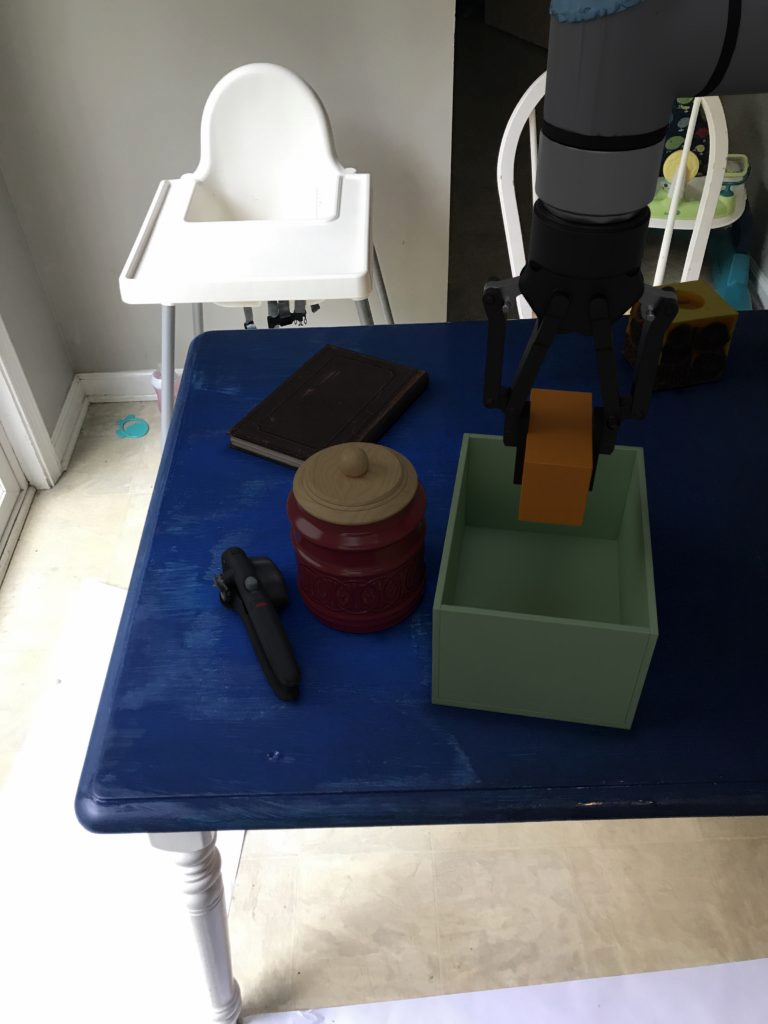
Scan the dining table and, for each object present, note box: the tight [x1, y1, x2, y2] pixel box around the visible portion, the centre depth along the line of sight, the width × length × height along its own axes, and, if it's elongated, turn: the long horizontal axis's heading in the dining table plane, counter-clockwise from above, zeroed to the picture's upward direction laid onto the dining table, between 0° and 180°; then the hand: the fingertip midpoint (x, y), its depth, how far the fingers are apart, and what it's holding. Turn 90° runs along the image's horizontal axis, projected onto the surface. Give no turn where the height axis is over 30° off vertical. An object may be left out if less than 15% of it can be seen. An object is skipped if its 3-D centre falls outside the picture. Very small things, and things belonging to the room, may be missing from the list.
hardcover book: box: [225, 343, 430, 471], centre depth 106 cm, size 16×23×2 cm
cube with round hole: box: [621, 279, 740, 392], centre depth 109 cm, size 10×10×10 cm
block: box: [518, 387, 593, 526], centre depth 68 cm, size 5×10×6 cm, turn 170°
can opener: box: [212, 546, 302, 703], centre depth 78 cm, size 18×7×6 cm, turn 22°
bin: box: [431, 432, 660, 730], centre depth 77 cm, size 17×23×13 cm
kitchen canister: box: [285, 442, 428, 634], centre depth 79 cm, size 13×13×18 cm
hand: (552, 476), depth 69 cm, fingers closed on block, 5 cm apart
